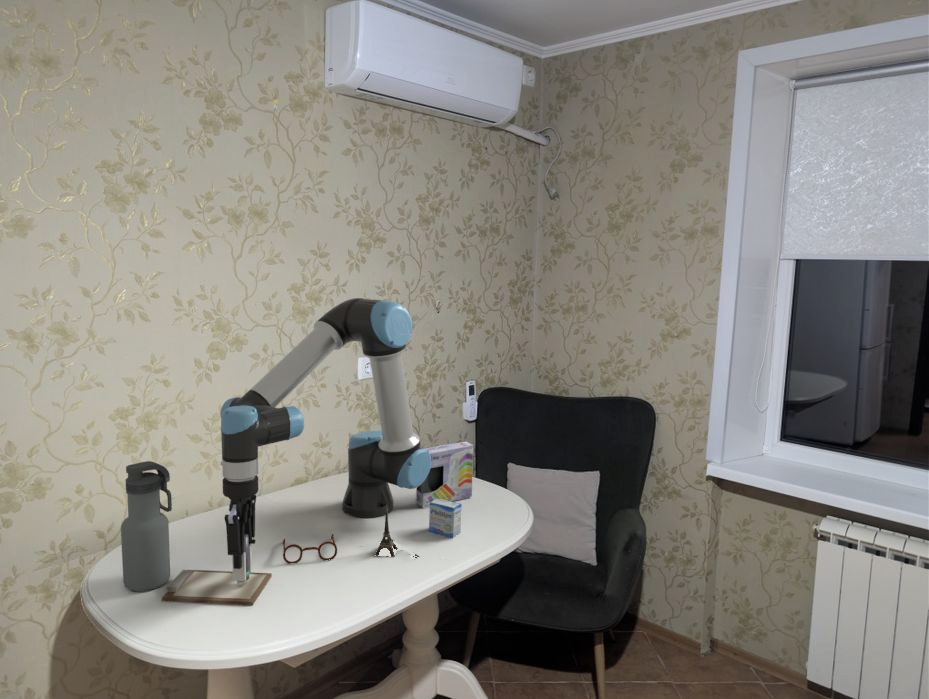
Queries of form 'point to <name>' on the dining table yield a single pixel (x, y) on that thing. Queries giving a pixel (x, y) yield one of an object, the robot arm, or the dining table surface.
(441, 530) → the medicine box
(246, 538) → the marker
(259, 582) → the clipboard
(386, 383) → the robot arm
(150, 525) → the water bottle
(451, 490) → the cake pan box
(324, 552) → the dining table surface
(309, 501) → the dining table surface
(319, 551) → the glasses
